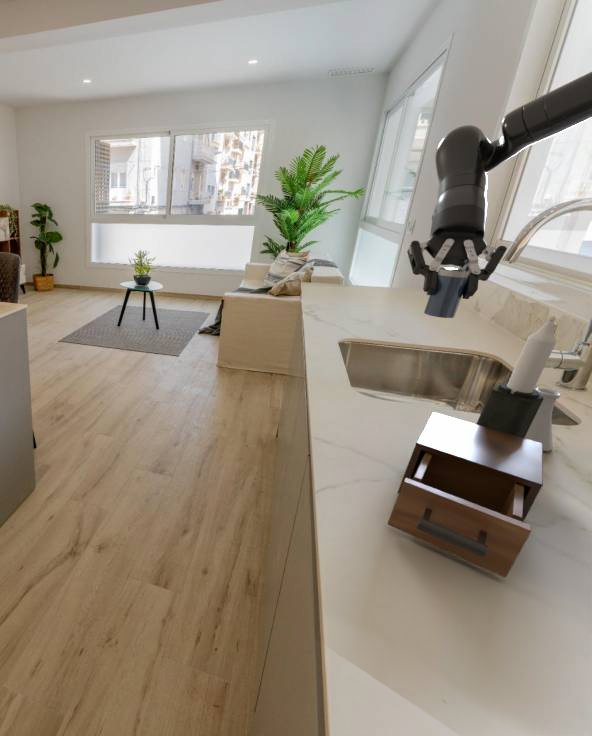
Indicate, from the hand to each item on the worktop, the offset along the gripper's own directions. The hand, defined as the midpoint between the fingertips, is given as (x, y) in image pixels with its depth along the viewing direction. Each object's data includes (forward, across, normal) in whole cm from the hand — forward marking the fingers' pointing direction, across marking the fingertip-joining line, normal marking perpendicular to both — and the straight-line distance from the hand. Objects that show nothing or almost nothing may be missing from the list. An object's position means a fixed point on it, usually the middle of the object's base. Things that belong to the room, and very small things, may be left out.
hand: (449, 294), depth 73 cm
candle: (+24, +10, +11) cm, 29 cm away
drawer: (+41, +1, -7) cm, 42 cm away
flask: (+16, +18, +20) cm, 32 cm away
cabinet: (+33, +4, +2) cm, 34 cm away
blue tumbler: (+2, 0, +4) cm, 5 cm away
